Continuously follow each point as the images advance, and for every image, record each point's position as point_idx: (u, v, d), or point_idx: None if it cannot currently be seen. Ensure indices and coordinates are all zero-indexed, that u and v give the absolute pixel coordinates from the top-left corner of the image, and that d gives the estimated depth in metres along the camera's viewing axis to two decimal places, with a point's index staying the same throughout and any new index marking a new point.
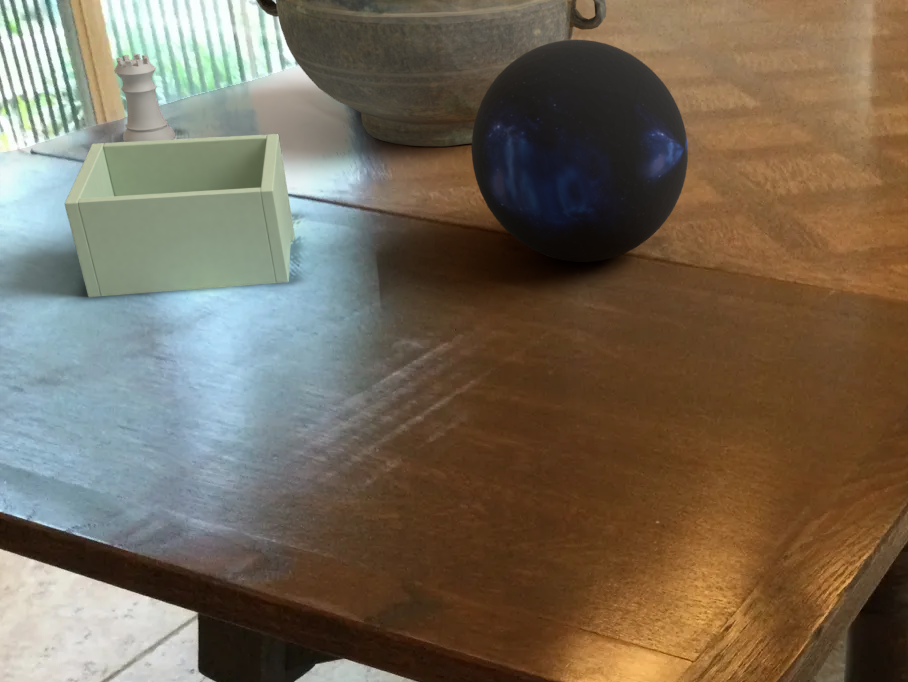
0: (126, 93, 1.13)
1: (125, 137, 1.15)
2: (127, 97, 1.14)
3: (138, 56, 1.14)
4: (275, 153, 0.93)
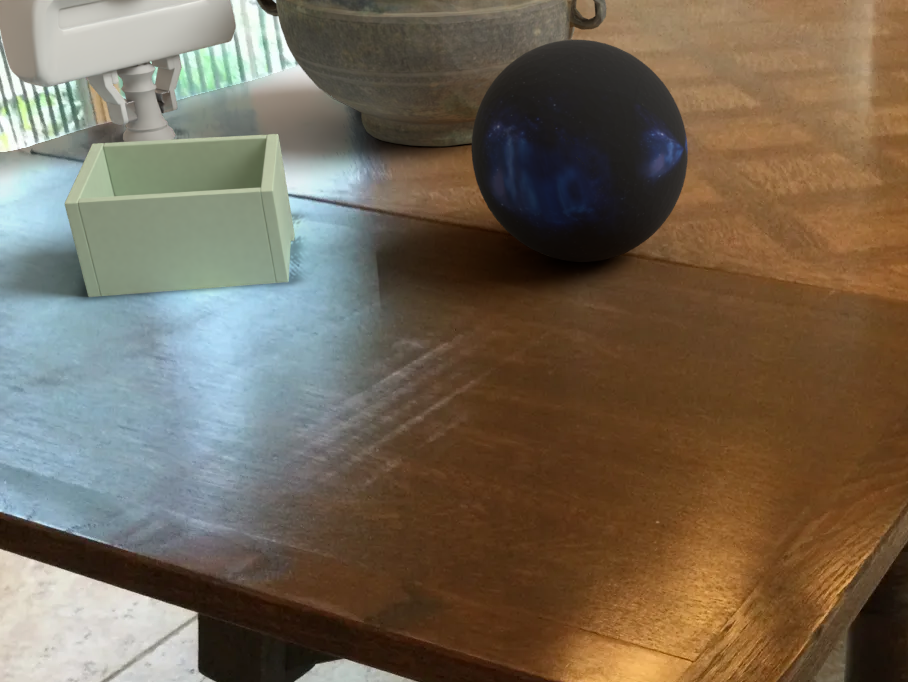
0: (126, 93, 1.13)
1: (125, 137, 1.15)
2: (127, 97, 1.14)
3: None
4: (275, 153, 0.93)
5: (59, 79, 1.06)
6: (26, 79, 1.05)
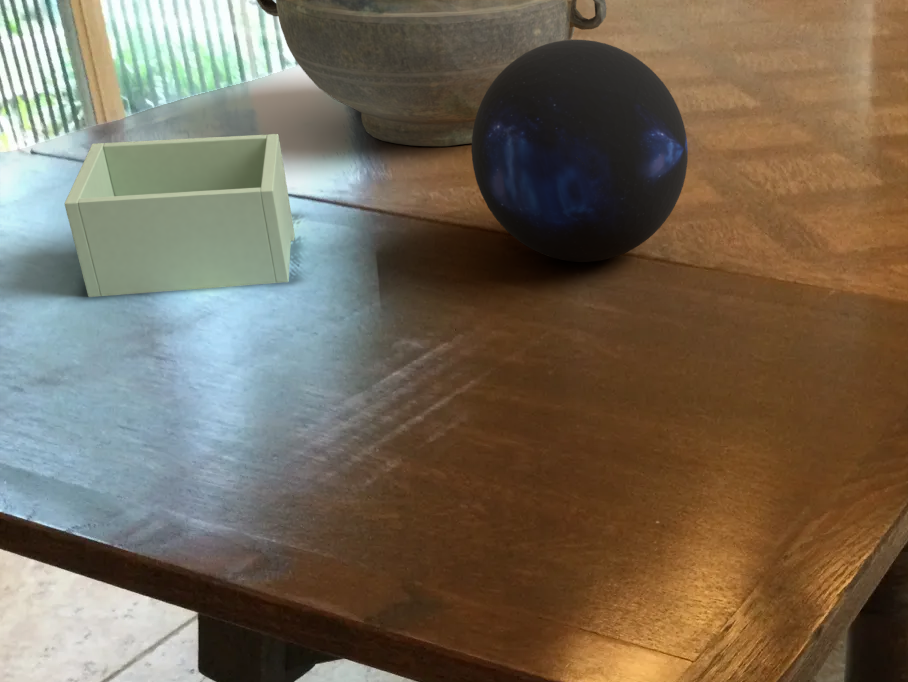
0: None
1: None
2: None
3: None
4: (275, 153, 0.93)
5: None
6: None
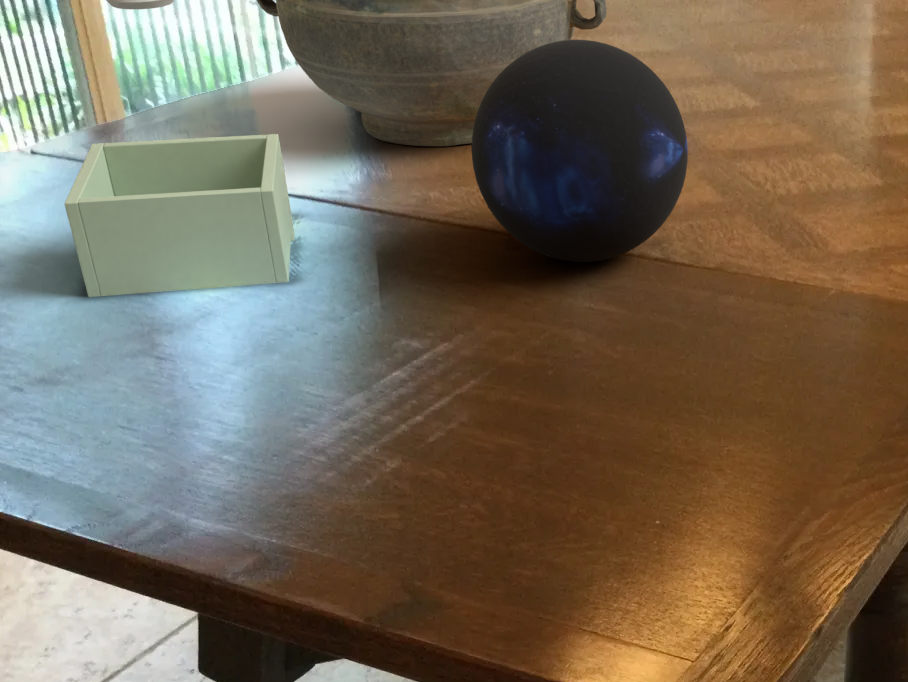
0: None
1: None
2: None
3: None
4: (275, 153, 0.93)
5: None
6: None
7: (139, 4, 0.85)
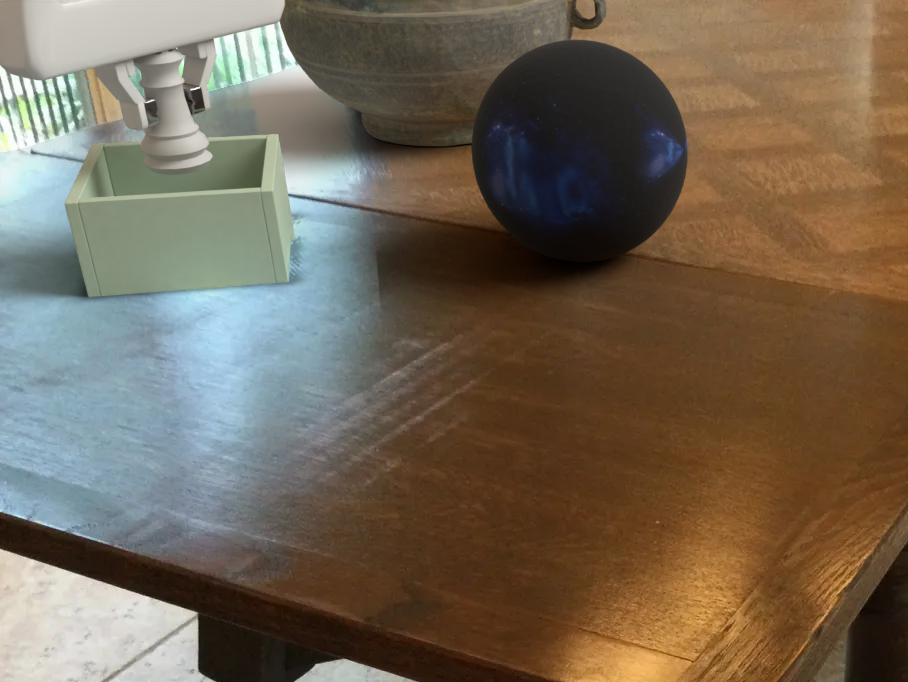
0: (145, 89, 0.87)
1: (144, 146, 0.88)
2: (147, 94, 0.87)
3: None
4: (275, 153, 0.93)
5: (57, 69, 0.79)
6: (13, 70, 0.79)
7: (177, 170, 0.89)
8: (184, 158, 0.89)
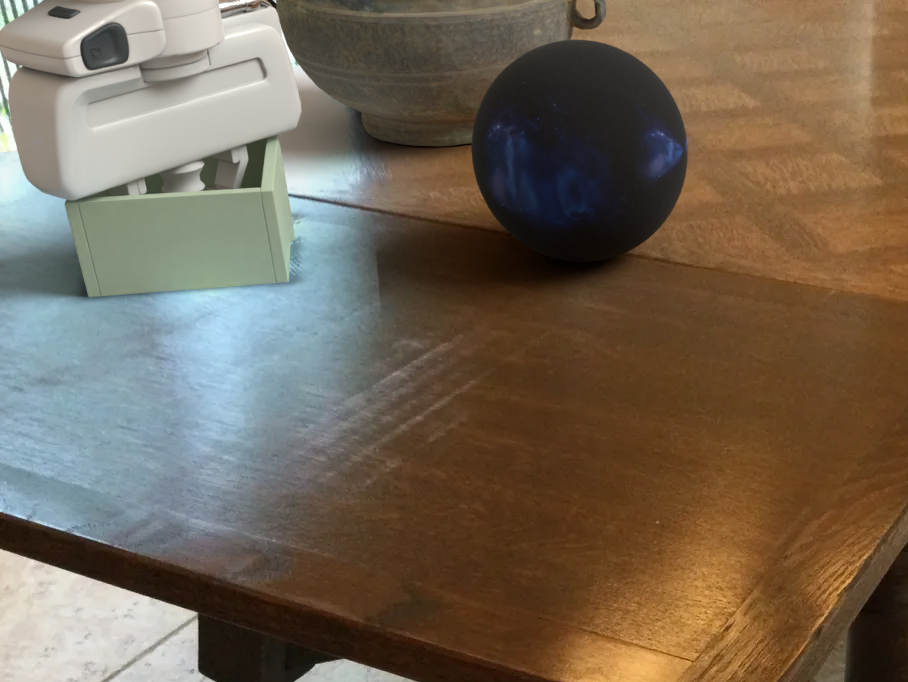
0: None
1: None
2: None
3: None
4: (275, 153, 0.93)
5: (88, 189, 0.83)
6: (46, 191, 0.83)
7: None
8: None
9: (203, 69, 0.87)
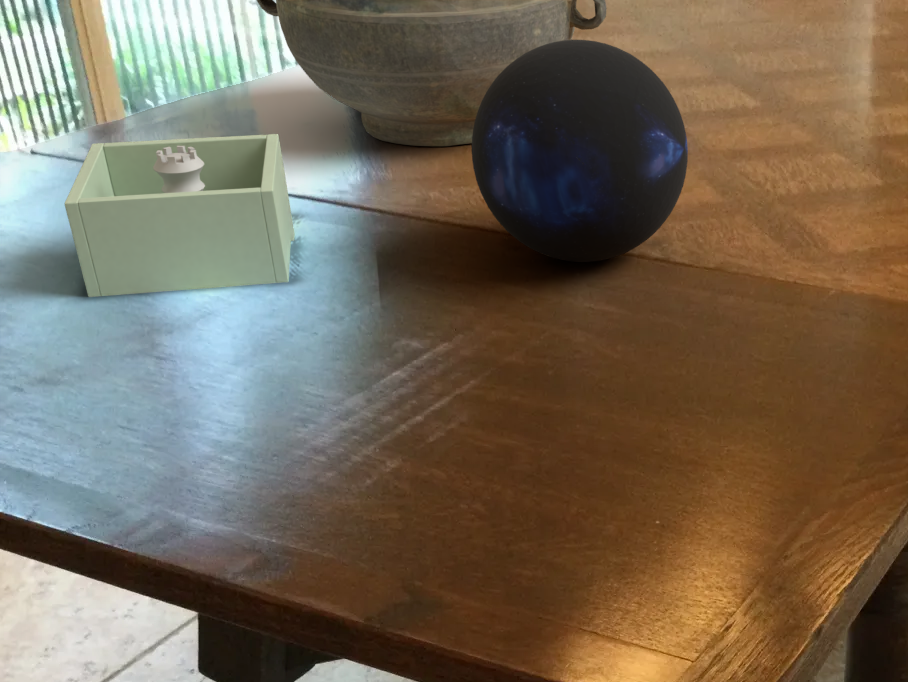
0: None
1: None
2: None
3: (183, 148, 0.91)
4: (275, 153, 0.93)
5: None
6: None
7: None
8: None
9: None
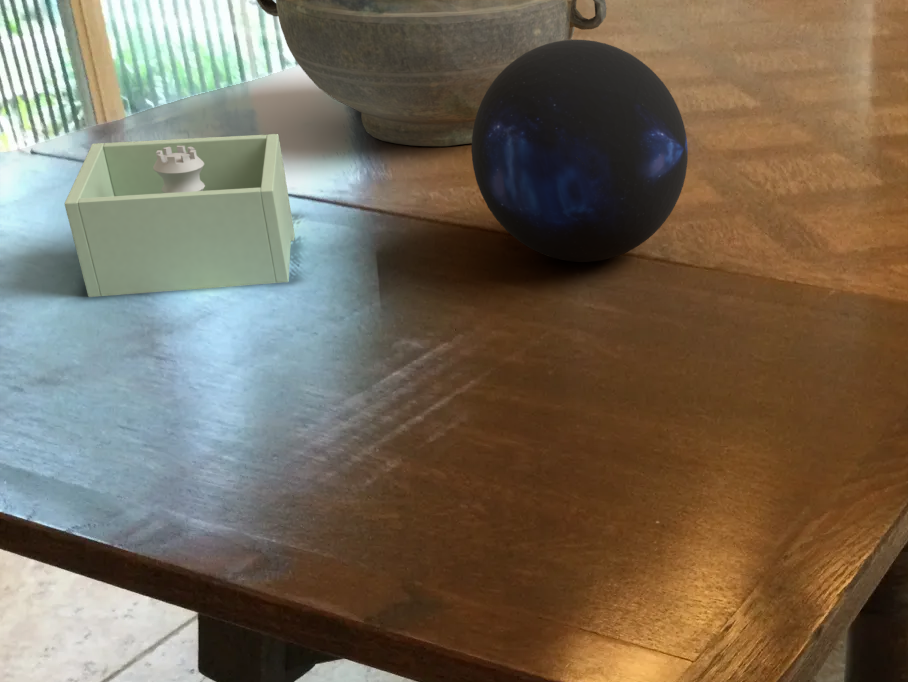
0: None
1: None
2: None
3: (183, 148, 0.91)
4: (275, 153, 0.93)
5: None
6: None
7: None
8: None
9: None
